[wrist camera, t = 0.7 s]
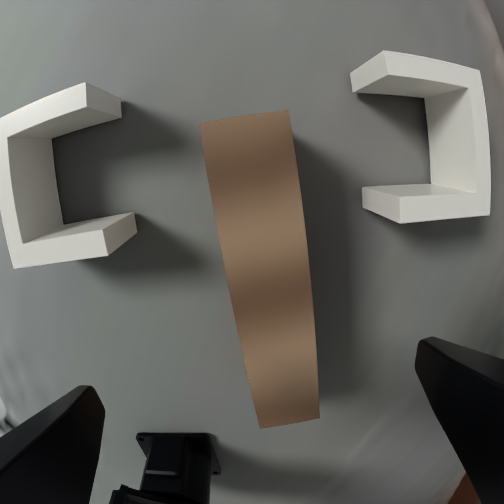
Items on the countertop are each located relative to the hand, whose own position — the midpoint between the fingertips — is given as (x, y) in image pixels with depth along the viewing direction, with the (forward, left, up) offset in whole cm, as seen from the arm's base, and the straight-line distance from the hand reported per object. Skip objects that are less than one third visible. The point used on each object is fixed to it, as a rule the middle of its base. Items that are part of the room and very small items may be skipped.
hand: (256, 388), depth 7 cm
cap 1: (+6, +9, -11) cm, 15 cm away
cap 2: (+6, -10, -11) cm, 16 cm away
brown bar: (-1, -1, -11) cm, 11 cm away
